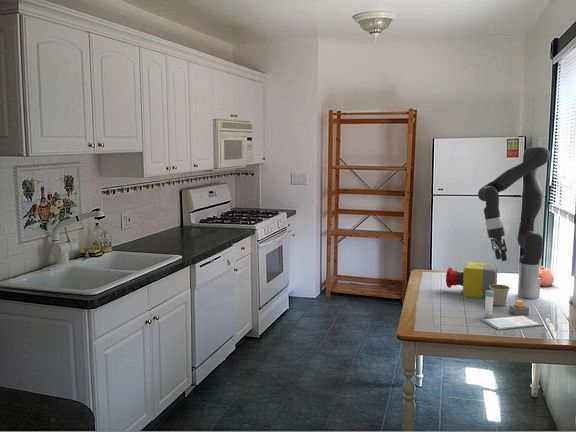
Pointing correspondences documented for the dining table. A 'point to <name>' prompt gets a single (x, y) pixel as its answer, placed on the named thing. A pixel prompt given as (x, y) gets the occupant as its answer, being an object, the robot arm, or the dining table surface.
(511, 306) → the button housing
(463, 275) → the emergency stop button
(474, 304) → the dining table surface
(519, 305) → the button
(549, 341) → the dining table surface
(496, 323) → the placemat
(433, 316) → the dining table surface
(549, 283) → the piggy bank
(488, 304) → the marker
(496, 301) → the flower pot
